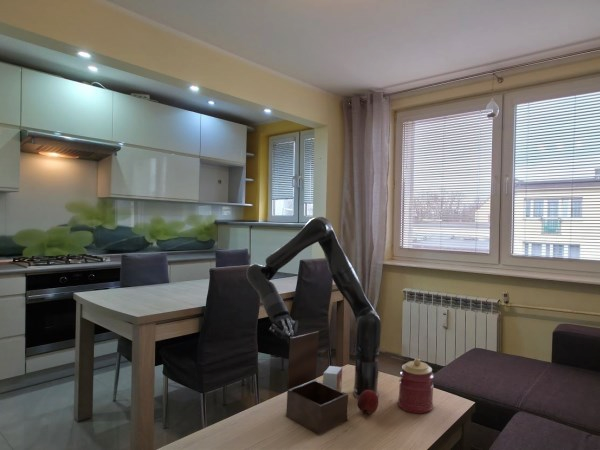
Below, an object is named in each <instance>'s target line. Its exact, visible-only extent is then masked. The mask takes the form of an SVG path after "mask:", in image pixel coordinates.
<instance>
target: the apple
mask: <svg viewBox="0 0 600 450" xmlns="http://www.w3.org/2000/svg"><path fill="white" fill-rule="evenodd" d="M356 402H357V403H356V405H357V408H358V409H359V410H360V411H361V412H362V414H368V415H372V414H374V413H375V412H376V411H377V409H378V406H379V396H378V394H377V395H376V393H375V392H374V391H372V390H365V391H363V392H362V393H361V395H360V396H359V398H357V400H356Z"/></svg>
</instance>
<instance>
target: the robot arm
mask: <svg viewBox="0 0 600 450" xmlns="http://www.w3.org/2000/svg"><path fill="white" fill-rule="evenodd" d="M316 243H318V245H319V247H321V250H322V251H323V253H324V257H325V260H326V265H327V270H328V272H329V275H330V277H331V279H332V281H333V283H334V285H335V286H336V288H337V290H338V291H339V292H340V295H342V296H343V297H344V299H345V300H346V302H347V303H348V305H349V306H350V308H351V311H352V312H353V315H354V318H355V321H356V325H357V328H356V331H357V332H356V344H355V365H354V382H353V383H354V384H353V385H354V386H353V396H354V397H355V398H356V399H358V398H359V396H360V395H361V393H362V392H363V391H365V390H372V391H374V392H375V393H376V395H377V396H378V385H379V383H378V382H379V363H380V347H381V339H382V338H381V334H382V320H381V318H380V316H379V314H378V313H377V311H376V309H374V307H373V306H372V304H371V302H370V301H369V299H368V298H367V296H366V294H365V292H364V288H363V286H362V283H361V280H360V278H359V277H358V275H357V272H356V271H355V269H354V267H353V265H352V263H351V261H350V259H349V258H348V256H347V254H346V253H345V251H344V249H343V247H342V246H341V244H340V243H339V240H338V238H337V235H336V232H335V229H334V228H333V226H332V223H331V222H330V220H329V219H327V218H326V217H324V216H316V217H313V218H311V219H309V220H308V222H307V223H306V224H305V225H304V226H303V227H302V228H301V229H300V230H299V232H297V234H296V235H294V236H293V237H292V238H291V239H289V240H288V241H287V242H285V243H284V244H282V245H281V246H279V247H278V248H277V249H275V250H273V252H271V253H270V254H269V255H267V257H266V258H265V264H264V265H261V264H258V263H253V264H250V265H249V266H248V267H247V269H246V273H245V274H246V278H247V281H248V283H250V285H251V286H252V288H253V289H254V290H255V291H256V292H257V293H258V297H259V298H260V301H261V303H262V306H263V309H264V311H265V312H266V313H265V314H266V315H267V317H268V319H269V322H271V326H270V327H269V328H268V331H269V332H270V333H271V334H273V335H275V336H276V337H277V338H279V339H283V340H285V342H286V343H287V345H288V347H290V338H292V337H295V334H296V333H297V332H298V327H299V320H298V319H296V320H293V319H292V317H291V316H290V314H289V313H290V312H289V310H288V308H287V305H286V303H285V301H284V299H283V298H282V296H281V295H280V293H279V291H278V289H277V287H276V285H275V283H273V282H272V281H271V280H272V279H273V278H274V277H275V275H276V274H277V273H278V272H279V270H280V269H282V268H283V267H285V266H286V265H287V264H289V263H290V262H291V261H293V259H295V258H296V257H297V256H298V255H299V253H301V252H302V251H304V250H305V249H306V248H309V247H311V246H313V245H314V244H316Z"/></svg>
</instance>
